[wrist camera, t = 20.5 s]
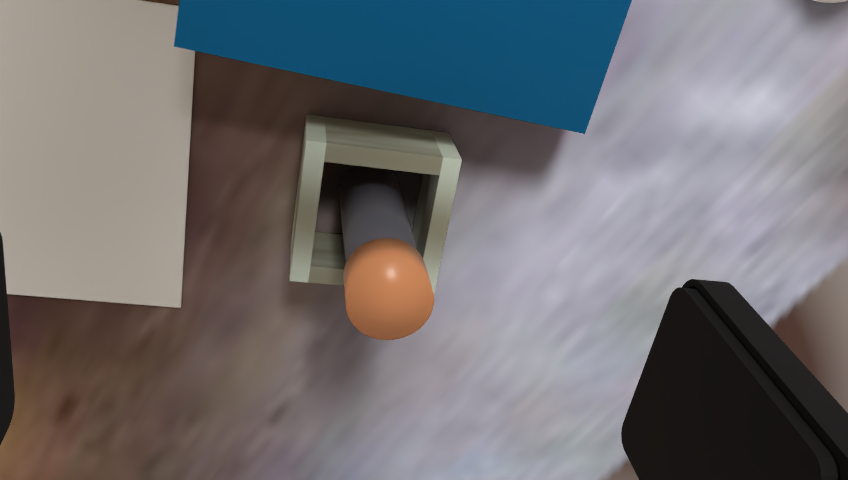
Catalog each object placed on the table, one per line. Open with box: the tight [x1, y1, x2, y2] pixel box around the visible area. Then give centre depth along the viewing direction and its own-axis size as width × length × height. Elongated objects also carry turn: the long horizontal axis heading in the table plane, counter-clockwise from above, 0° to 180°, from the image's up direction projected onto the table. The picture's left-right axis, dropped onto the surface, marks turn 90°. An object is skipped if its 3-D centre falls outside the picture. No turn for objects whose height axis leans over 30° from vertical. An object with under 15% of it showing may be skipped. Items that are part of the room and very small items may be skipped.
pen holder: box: [290, 114, 462, 294], centre depth 35 cm, size 6×6×4 cm
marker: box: [339, 166, 434, 340], centre depth 32 cm, size 3×3×10 cm
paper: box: [0, 0, 195, 308], centre depth 34 cm, size 14×14×1 cm
